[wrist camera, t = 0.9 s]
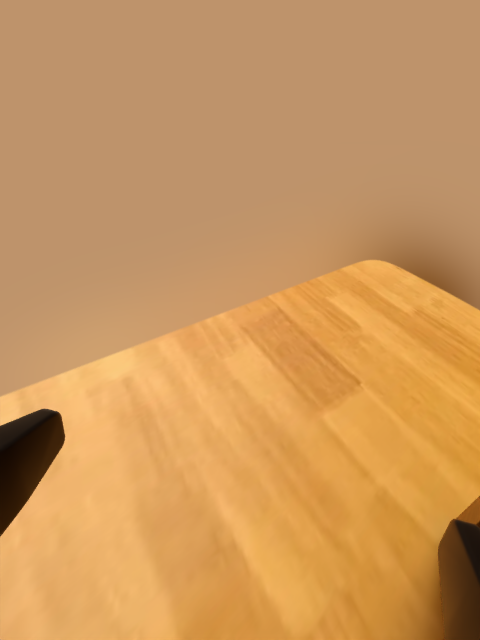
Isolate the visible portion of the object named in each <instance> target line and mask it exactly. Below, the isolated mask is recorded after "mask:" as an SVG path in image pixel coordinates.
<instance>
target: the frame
mask: <svg viewBox="0 0 480 640" xmlns="http://www.w3.org/2000/svg"><path fill="white" fill-rule="evenodd" d="M456 519H459V520H463V521H467V522H471V523H474V524H476V525H477V526H478V527H479V528H480V496H479V497H478V498H477V499H476V500H475V501H474V502H473V503H472V504H471V505H470V506H469V507H468V508H467V509H466V510H465V511H464V512H463V513H462V514H460V515H459V516H458V517H457V518H456Z"/></svg>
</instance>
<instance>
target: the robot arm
mask: <svg viewBox="0 0 480 640" xmlns="http://www.w3.org/2000/svg"><path fill="white" fill-rule="evenodd" d="M64 441H65V433H64V428H63V422H62V417H61V414H60V413H59V412H57V411H53V410H49V409H41V410H38V411H36V412H33V413H31V414H28V415H26V416H24V417H21V418H19V419H16V420H14V421H11V422H9V423H6V424H4V425H1V426H0V536H1V535H2V534H3V533H4V531H5V530H6V529H7V527H8V526H9V525H10V523H11V522H12V521H13V520H14V518H15V517H16V516H17V514H18V513H19V512H20V510H21V509H22V508H23V506H24V505H25V504H26V502H27V501H28V499H29V498H30V496H31V495H32V493H33V492H34V490H35V489H36V487H37V486H38V484H39V482H40V481H41V479H42V478H43V476H44V475H45V473H46V471H47V470H48V468H49V467H50V465H51V464H52V462H53V461H54V459H55V457H56V456H57V454H58V453H59V451H60V450H61V448H62V446H63V444H64ZM438 560H439V574H440V587H441V601H442V614H443V627H444V638H445V640H480V528H479V527H478V526H477V525H476V524H474V523H471V522H467V521H463V520H459V519H453V520H452V521H451V522H450V524H449V526H448V527H447V529H446V531H445V533H444V535H443V537H442V539H441V541H440V544H439V549H438Z"/></svg>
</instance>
